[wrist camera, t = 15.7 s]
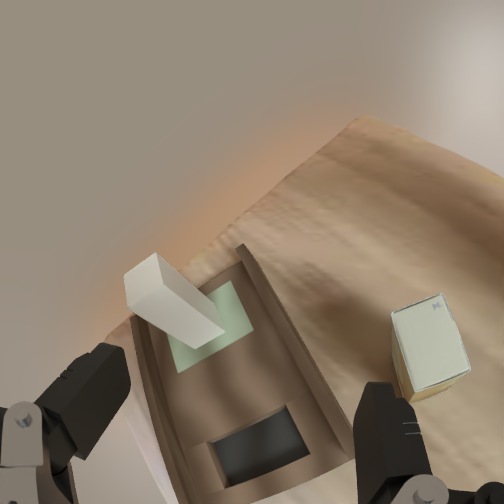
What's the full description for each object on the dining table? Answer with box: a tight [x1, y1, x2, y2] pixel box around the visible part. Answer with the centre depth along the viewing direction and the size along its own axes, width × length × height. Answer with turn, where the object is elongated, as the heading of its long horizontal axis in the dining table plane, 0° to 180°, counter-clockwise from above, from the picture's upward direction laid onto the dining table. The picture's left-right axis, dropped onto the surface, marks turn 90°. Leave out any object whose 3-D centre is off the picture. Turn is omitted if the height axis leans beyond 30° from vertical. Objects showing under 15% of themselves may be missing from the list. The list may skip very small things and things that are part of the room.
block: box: [123, 252, 225, 349], centre depth 34 cm, size 4×4×12 cm
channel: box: [130, 243, 355, 504], centre depth 33 cm, size 19×28×4 cm
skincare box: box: [391, 293, 471, 405], centre depth 22 cm, size 6×4×12 cm
